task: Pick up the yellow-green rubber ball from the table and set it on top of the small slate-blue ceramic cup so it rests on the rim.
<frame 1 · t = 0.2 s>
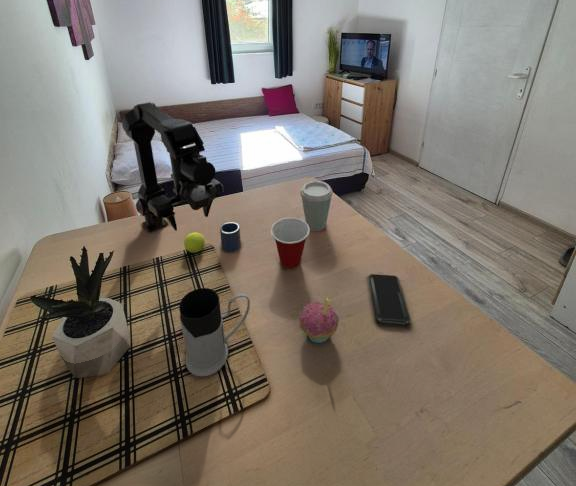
hand: (191, 223, 88), 14 cm above the table, tool pointing down, fingers open, 9 cm apart
tumbler: (231, 246, 101), on the table
plastic cup: (290, 263, 95), on the table
disposable coffee cup: (315, 226, 111), on the table
grey mug: (219, 351, 69), on the table
phone: (387, 300, 82), on the table
ball: (194, 242, 98), point 3 cm above the table
cupcake: (317, 334, 73), on the table
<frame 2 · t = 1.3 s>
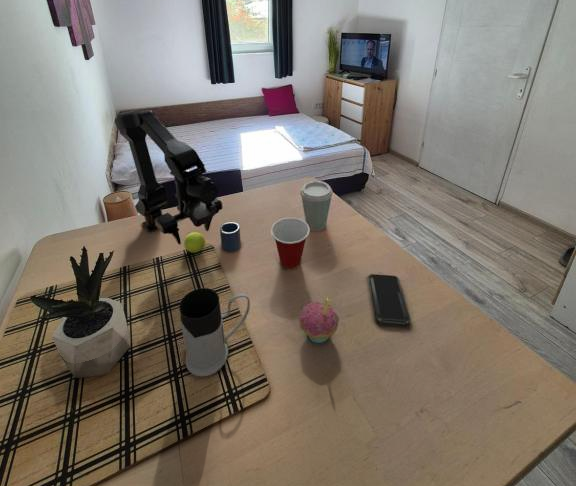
hand: (193, 237, 97), 5 cm above the table, tool pointing down, fingers open, 9 cm apart
nothing on the table moved.
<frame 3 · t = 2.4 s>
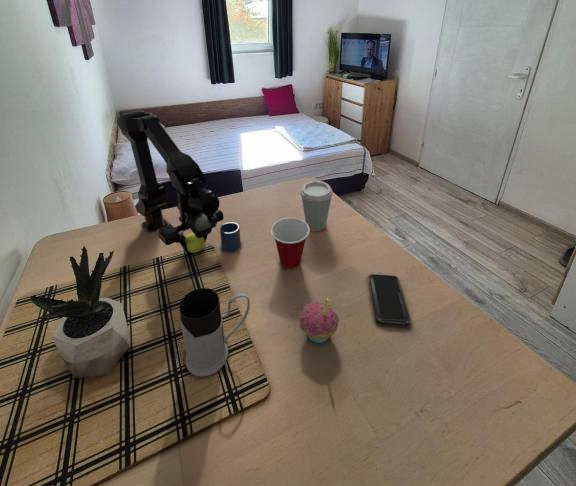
hand: (195, 247, 99), 1 cm above the table, tool pointing down, fingers closed on ball, 6 cm apart
ball: (194, 242, 98), point 3 cm above the table, touching gripper
everything else where it was.
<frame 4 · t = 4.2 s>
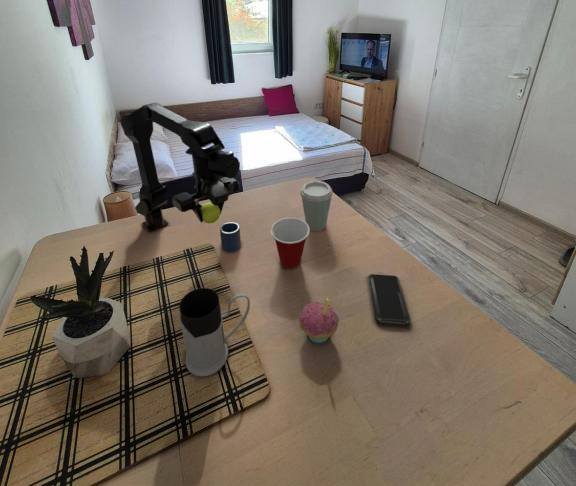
hand: (210, 217, 96), 11 cm above the table, tool pointing down, fingers closed on ball, 6 cm apart
ball: (209, 212, 95), point 13 cm above the table, touching gripper
everything else where it was.
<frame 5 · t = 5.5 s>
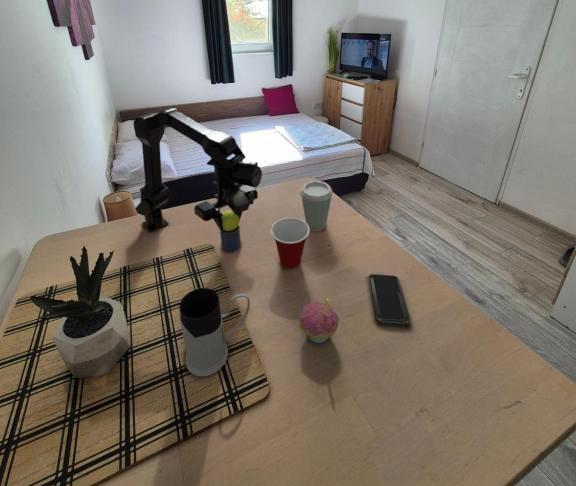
hand: (229, 225, 98), 8 cm above the table, tool pointing down, fingers closed on ball, 6 cm apart
ball: (229, 220, 97), point 9 cm above the table, touching gripper
everything else where it was.
when the fingers open (7 cm above the table, at t = 6.2 s): ball stays where it is, resting on tumbler.
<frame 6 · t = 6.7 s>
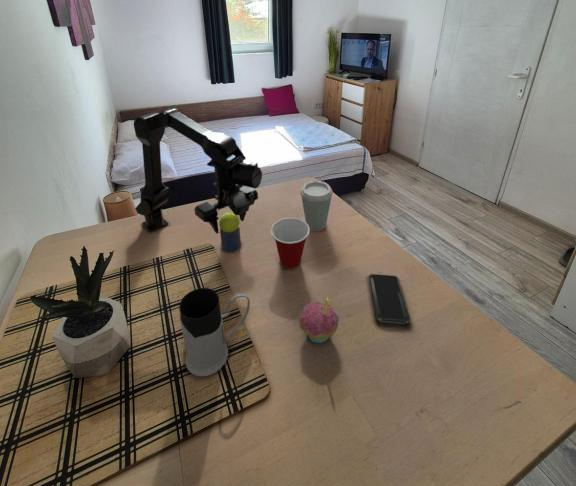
hand: (229, 226, 98), 7 cm above the table, tool pointing down, fingers open, 9 cm apart
tumbler: (231, 246, 101), on the table, touching ball
ball: (229, 222, 98), point 9 cm above the table, touching tumbler
everything else where it was.
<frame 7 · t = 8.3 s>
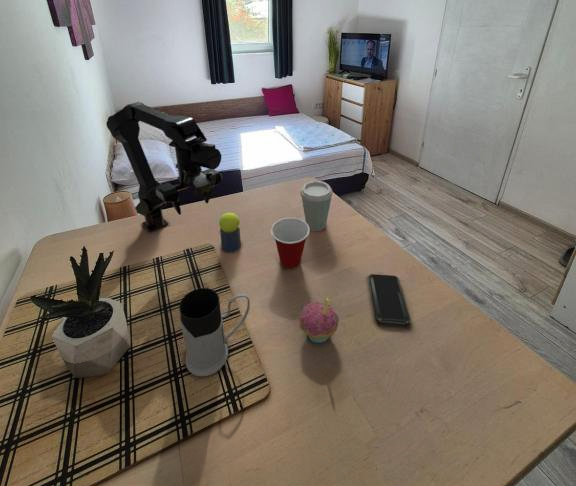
hand: (193, 208, 99), 12 cm above the table, tool pointing down, fingers open, 9 cm apart
nothing on the table moved.
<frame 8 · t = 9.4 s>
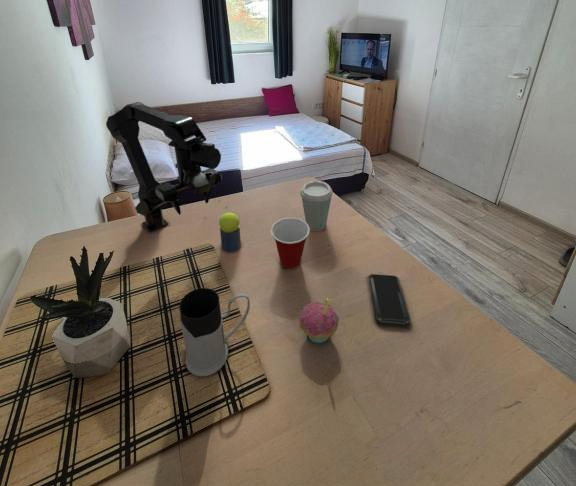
hand: (193, 208, 99), 12 cm above the table, tool pointing down, fingers open, 9 cm apart
nothing on the table moved.
at the end: ball 0.0 cm off-centre on the tumbler, point 8.8 cm above the tumbler's base; the gripper is holding nothing; tumbler tilted 0° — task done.
